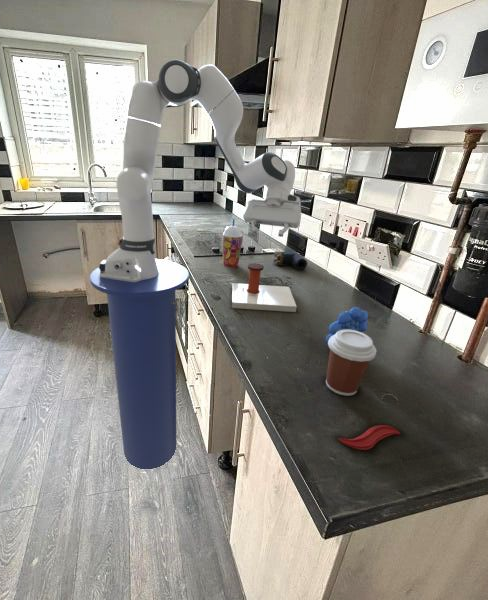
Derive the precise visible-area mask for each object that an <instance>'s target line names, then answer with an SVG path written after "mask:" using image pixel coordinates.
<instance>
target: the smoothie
mask: <svg viewBox="0 0 488 600" xmlns="http://www.w3.org/2000/svg"><path fill="white" fill-rule="evenodd" d="M243 236H244V234H243V232H242V230H241V228H240V227H239V226H237V225H235V218H232V224H231V225H228V226H226V228H225V229H224V231H223V232H222V264H223V266H224V267H226V268H232V269H233V268H236V267H238V264H239V263H240V256H241V249H242V243H243Z"/></svg>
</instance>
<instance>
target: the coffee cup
mask: <svg viewBox="0 0 488 600" xmlns="http://www.w3.org/2000/svg"><path fill="white" fill-rule="evenodd" d="M327 345H328V348H329V355H328V362H327V370H326V377H325V385H326V386H327V387H328V389H329V390H331V392H333V393H335V394H338V395H339V396H341V395H342V396H346V397H348V396H353V395H355V394H357V393H358V389H359V387H360V384H361V382H362V379H363V378H364V375H365V373H366V370H367V368H368V365H369V363H370V361H372V360H374V359H375V358H376V356H377V352H378V351H377V348H376V346H375V345H374V342H373V339H372V338H371V337H370V336H369V335H367V334H366V333H364V332H359V331H355V330H348V329H346V330H340V331H338V332H337V333H336V334H335V335H333V336H331V337H330V339H329V340H328V344H327Z"/></svg>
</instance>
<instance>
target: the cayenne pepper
mask: <svg viewBox="0 0 488 600" xmlns="http://www.w3.org/2000/svg"><path fill="white" fill-rule="evenodd" d="M393 435H401V432H400V431H399V430H398V429H396V428H394V427H393V426H390V425H382V424H380V425H378V424H377V425H374V426H372V427H369V428H368V429H367V430H366V431H365V432H364V433H362V434H360V435H359V436H358V437H355V438H337V440H338V441H339V442H340V443H342V444H344V445H346V446H348V447H350V448H352V449H357V450H360V451H361V450H362V451H366V450H370V449H372V448H373V447H374V446H375V445H376V444H377V443H378V442H379V441H381V440H382V439H384V438H388V437H389V436H393Z"/></svg>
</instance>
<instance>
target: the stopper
mask: <svg viewBox="0 0 488 600" xmlns="http://www.w3.org/2000/svg"><path fill="white" fill-rule="evenodd" d="M247 269H248V270H249V276H248V283H247V284H248V293H251V294H257V293H258V291H259V285H260V283H261V282H260V280H261V272H262V271H263V270H264V269H265V266H264V265H263V264H260V263H248V264H247Z"/></svg>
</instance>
